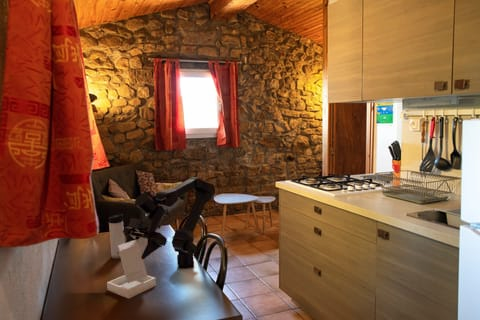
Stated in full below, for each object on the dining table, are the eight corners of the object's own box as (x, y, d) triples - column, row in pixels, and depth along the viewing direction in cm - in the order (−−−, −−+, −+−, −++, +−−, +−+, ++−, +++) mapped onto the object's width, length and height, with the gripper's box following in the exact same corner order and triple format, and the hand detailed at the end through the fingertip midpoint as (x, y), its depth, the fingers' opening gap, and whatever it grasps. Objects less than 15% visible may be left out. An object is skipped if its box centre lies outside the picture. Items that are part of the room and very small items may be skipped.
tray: (134, 278, 152) (134, 270, 151) (155, 285, 144) (155, 277, 144) (107, 290, 142) (106, 282, 141) (128, 298, 134) (127, 290, 134)
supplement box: (148, 276, 138) (140, 244, 135) (127, 283, 135) (119, 251, 133) (144, 269, 144) (137, 238, 142) (125, 276, 142) (117, 245, 139)
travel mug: (121, 259, 173) (118, 216, 171) (108, 258, 175) (105, 216, 173) (128, 254, 180) (125, 213, 177) (115, 253, 181) (112, 212, 179)
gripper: (124, 206, 146) (102, 242, 138) (159, 211, 136) (137, 250, 128) (141, 220, 154) (121, 256, 146) (175, 226, 143) (156, 264, 136)
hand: (133, 256), depth 139 cm, fingers closed on supplement box, 9 cm apart
